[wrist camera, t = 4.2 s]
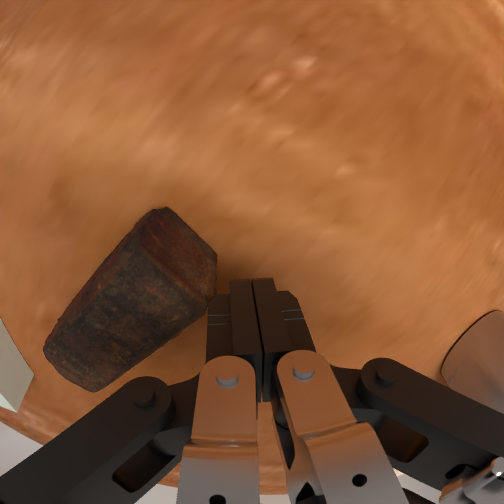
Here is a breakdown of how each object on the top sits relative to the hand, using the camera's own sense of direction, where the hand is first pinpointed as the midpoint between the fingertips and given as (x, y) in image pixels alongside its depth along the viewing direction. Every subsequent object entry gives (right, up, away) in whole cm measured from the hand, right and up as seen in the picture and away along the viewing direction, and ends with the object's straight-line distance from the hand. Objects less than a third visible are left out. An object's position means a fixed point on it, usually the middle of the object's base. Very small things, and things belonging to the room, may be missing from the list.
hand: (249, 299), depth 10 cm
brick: (-7, 0, +4) cm, 8 cm away
